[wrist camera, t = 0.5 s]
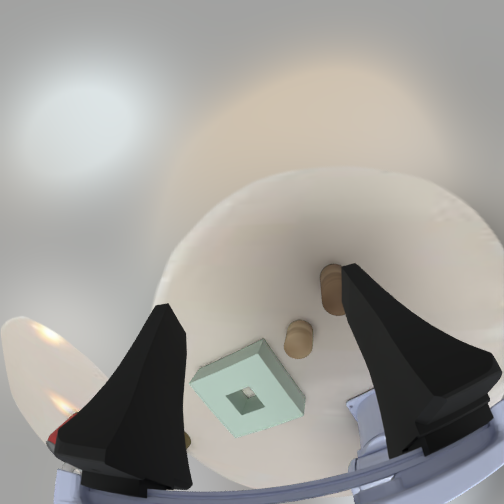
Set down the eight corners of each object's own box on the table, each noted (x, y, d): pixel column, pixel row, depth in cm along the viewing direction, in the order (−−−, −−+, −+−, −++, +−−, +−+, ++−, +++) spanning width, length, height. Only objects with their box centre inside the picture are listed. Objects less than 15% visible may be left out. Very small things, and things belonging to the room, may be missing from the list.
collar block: (305, 397, 37) (303, 415, 33) (241, 421, 40) (235, 437, 36) (263, 338, 36) (257, 353, 32) (199, 368, 39) (188, 383, 35)
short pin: (317, 336, 35) (317, 351, 31) (295, 347, 36) (293, 363, 32) (304, 315, 35) (303, 329, 31) (282, 327, 36) (278, 342, 32)
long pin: (351, 281, 33) (362, 304, 25) (328, 295, 34) (332, 321, 26) (338, 258, 33) (345, 275, 25) (315, 273, 34) (315, 293, 26)
